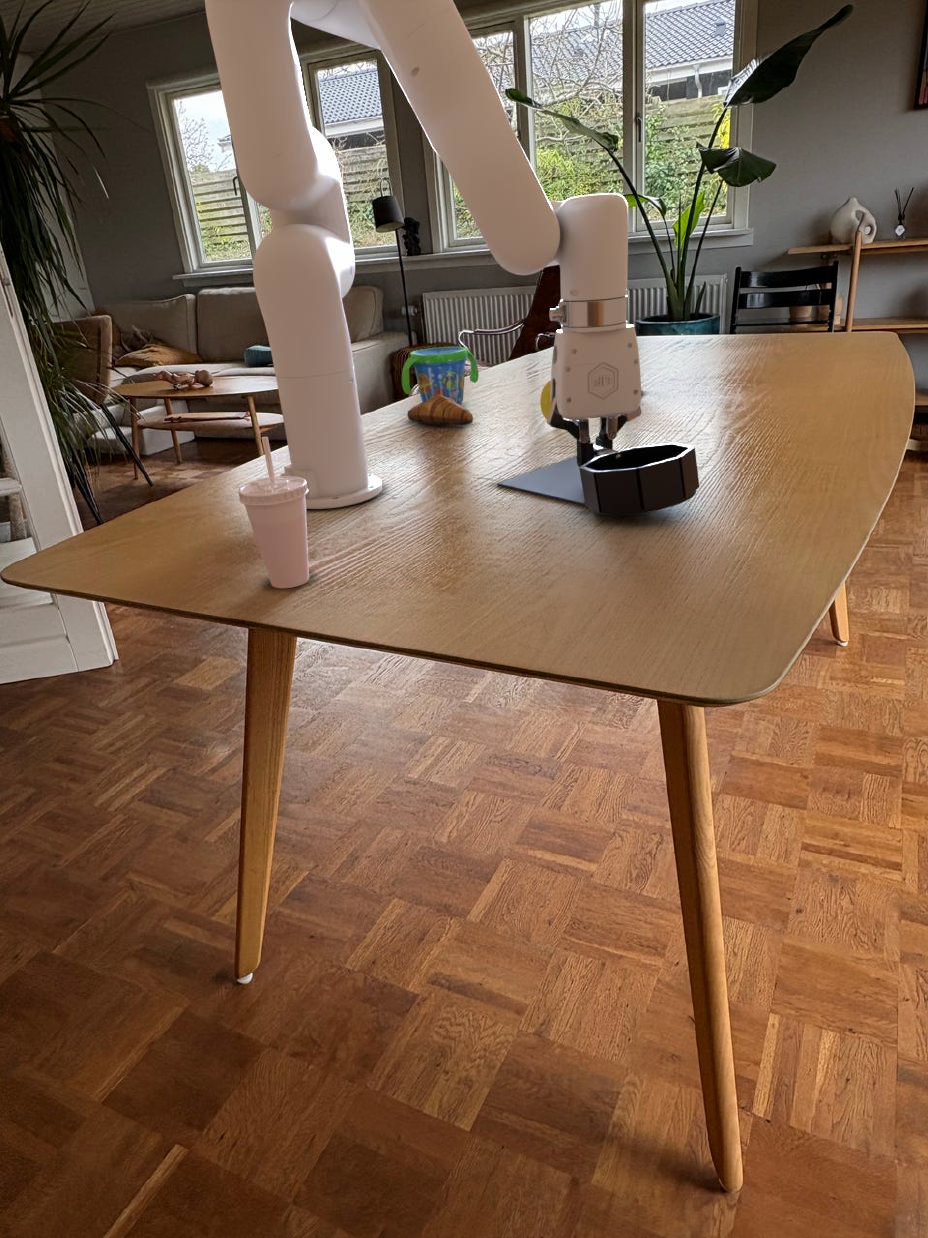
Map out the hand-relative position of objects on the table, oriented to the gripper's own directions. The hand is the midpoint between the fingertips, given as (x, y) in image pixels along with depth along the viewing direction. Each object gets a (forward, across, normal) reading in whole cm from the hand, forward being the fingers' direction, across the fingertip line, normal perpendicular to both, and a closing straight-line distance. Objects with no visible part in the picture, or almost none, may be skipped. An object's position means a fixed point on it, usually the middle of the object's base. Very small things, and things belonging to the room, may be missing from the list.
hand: (594, 470), depth 101 cm
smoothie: (+2, -38, -18) cm, 43 cm away
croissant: (+2, -12, +44) cm, 45 cm away
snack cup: (+2, -8, +58) cm, 59 cm away
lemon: (+2, +5, +30) cm, 31 cm away
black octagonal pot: (+1, 0, -8) cm, 9 cm away
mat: (+1, 0, +1) cm, 2 cm away
